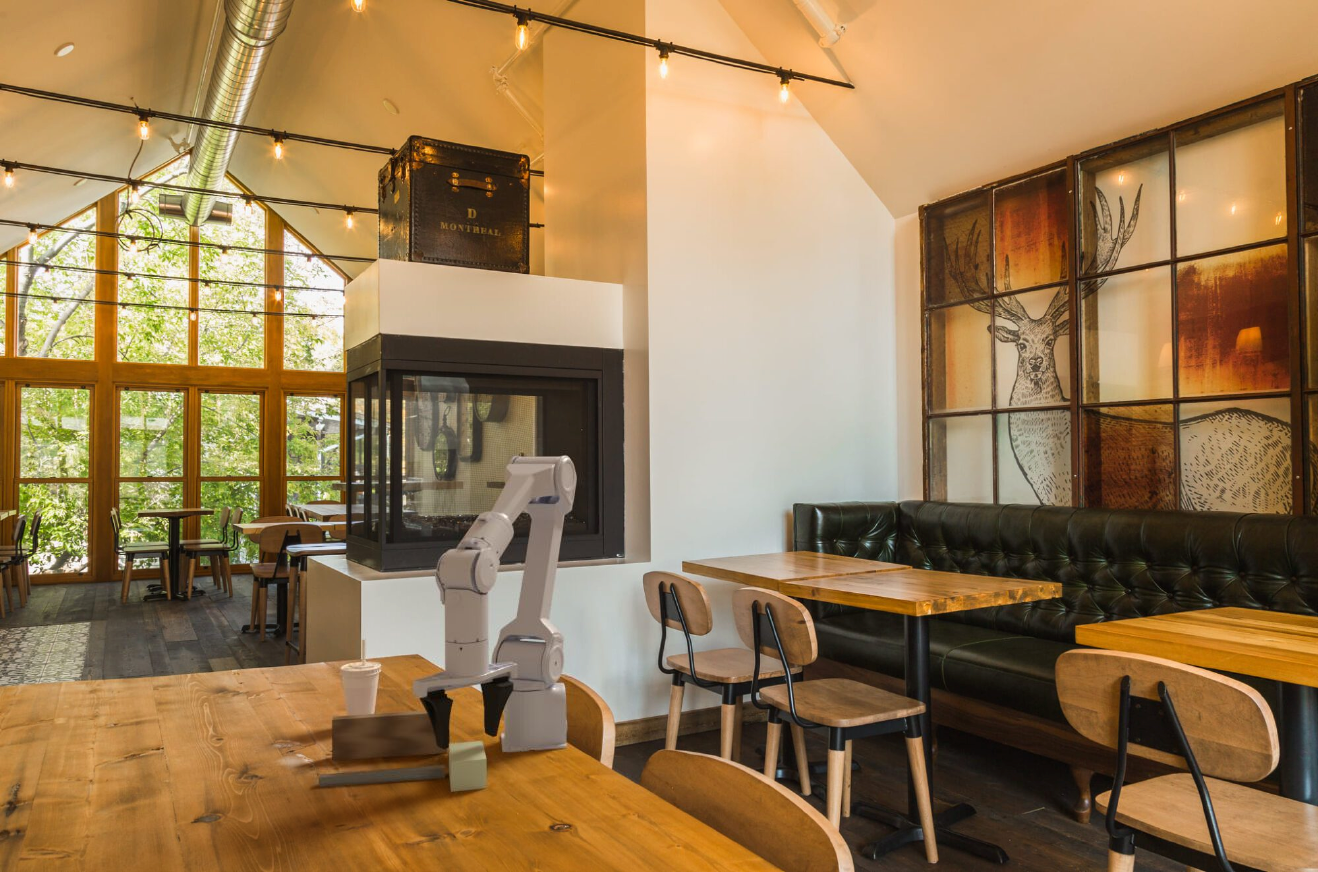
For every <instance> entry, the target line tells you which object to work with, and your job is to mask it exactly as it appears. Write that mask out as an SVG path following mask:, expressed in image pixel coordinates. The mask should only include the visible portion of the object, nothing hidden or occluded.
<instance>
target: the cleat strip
mask: <svg viewBox="0 0 1318 872" xmlns="http://www.w3.org/2000/svg"><path fill="white" fill-rule="evenodd" d="M445 771H446V764H437V765H422V766H413V767H412V766H411V767H398V768H397V767H396V768H385V769H374V770H373V769H372V770H370V769H369V770H360V771H346V772H337V773H336V772H333V773H323V774H319V777H318V788H323V787H324V788H325V787H326V788H327V787H337V786H338V787H341V786H354V785H356V786H357V785H369V784H385V783H397V782H409V781H411V782H412V781H423V780H424V781H425V780H426V781H427V780H439V779H445V778H446V772H445Z"/></svg>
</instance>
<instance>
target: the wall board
mask: <svg viewBox="0 0 1318 872" xmlns="http://www.w3.org/2000/svg"><path fill="white" fill-rule="evenodd" d="M447 753H448V748H447V749H442V748H440V747H438V746H437V743H436V738H435V734H434V730H433V727H432V724H431V721H430V718H429V716H428V714H427V712H426V710H425V709H424V710H413V711H412V710H411V711H410V710H409V711H399V712H398V711H397V712H383V713H374V714H364V715H349V716H347V715H337V716H333V717H332V719H331V761H342V760H344V761H345V760H357V759H358V760H360V759H369V758H370V759H372V758H387V757H388V758H389V757H403V756H405V757H406V756H419V755H431V754H432V755H434V754H436V755H437V754H447Z"/></svg>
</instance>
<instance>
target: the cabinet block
mask: <svg viewBox="0 0 1318 872" xmlns="http://www.w3.org/2000/svg"><path fill="white" fill-rule="evenodd" d="M484 747H485V746H484V743H483V740H476V741H475V740H474V741H464V742H451V743H449V748H448V777H449V785H450V792H451V793H452V792H453V793H454V792H459V791H460V792H461V791H462V792H463V791H472V790H482V789H487V788H488V787H487V783H488V782H487V779H488V778H487V777H488V776H487V755H486V751H485V748H484Z"/></svg>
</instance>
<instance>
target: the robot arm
mask: <svg viewBox="0 0 1318 872" xmlns="http://www.w3.org/2000/svg"><path fill="white" fill-rule="evenodd" d="M577 479H578V478H577V472H576V468H575V465H574V462H573V461H572V459H571V458H570V457H569V456H568V455H560V456H521V455H514V456H513V457H512V458H510V460H509V461H508V463H507V466H506V467H505V469H504V484H505V485H504V486H503V488H502V490H501V492H500V494H499V495H498V498H497V499H496V501H495V503H494V505H493V507H492V509H491V511H485V512H482V513H480V514H479V515H478V516H477V518H476V519H475V520H474V522H473V524H471V526H470V527H469V529H468V531H467V532H466V533H465V535H464V536H463V537H462V539H461V540H460V542H459V543H458V545H457V546H456V548H451V549H448V550H447V551H446V552H444V553H443V554H442V555H441V556H440V557H439V560H438V561H437V565H436V571H435V572H434V577H435V583H436V585H437V587H438V589H439V594H440V598H439V599H440V602H441V604H442V605H443V606H444V670H443V671H439V672H437V673H434V674H430V675H429V676H425V677H422V678H417V679H414V680H413V681H412V682H413V683H412V689H413V690H412V693H413V696H415V697H418V698H419V701H420V703H422V706H423V708H424V711H425V710H426V712H427V714H428V716H429V718H430V721H431V724H432V727H433V730H434V734H435V738H436V743H437V746H438V747H440V748H442V749H447V750H448V749H449V744H450V740H451V739H450V736H451V734H450V723H451V721H450V720H451V712H452V707H453V704H454V700H453V699H452V698H450V697H448V693H446V692H447V691H453V690H458V689H461V688H462V689H463V688H468V687H472V686H476V685H480V689H481V695H482V700H483V722H484V723H483V728H484V733H485V734H486V735H487V736H489V737H492V738H494V737H497V735H498V731H499V727H500V724H501V723H500V722H501V719H502V716H504V717H503V719H504V720H503V722H504V723H503V725H504V726H503V727H504V729H503V731H504V732H502V733H501V734H500V740H501V749H502V750H501V751H502V753H504V752H505V754H507V753H517V752H518V753H521V752H530V751H529V750H535V751H546V750H557V749H558V750H559V749H566V748H567V747H568V745H567V744H568V743H567V732H568V721H567V691H566V686H565V683H564V682H558V681H559V679H560V678H561V676H562V673H563V670H564V663H565V656H564V636H563V634H562V633H561V632H560V631H559V629H557V628H556V627H555V626H554V624H553V623H552V622H551V621H550V616H551V609H552V605H553V604H552V602H553V596H554V591H555V590H554V589H555V581H556V575H557V567H558V561H559V555H560V548H561V541H562V535H563V527H564V520H565V515H567V514H568V513H571V511H572V510H573V505H574V500H575V494H576V493H575V492H576V487H577ZM522 512H525V513H526V514H528V515H529V516H530V519H531V523H530V530H529V537H528V542H527V549H526V555H525V562H524V566H523V567H524V568H523V574H522V578H521V579H522V581H521V587H520V592H519V598H518V605H517V611H516V617H515V618H514V619H512V620H511V621H510V622H508V623H507V624H505V625H504V626H503V627H502V628H500V630H499V635H498V639H497V642H496V645H495V647H494V649H493V651H492V655H491V663H489V659H490V658H489V650H490V649H489V592H490V591H491V590H492V589H493V587H495V583H496V580H497V575H498V570H499V568H500V564H501V562H500V558H501V557H502V555H503V553H504V552H505V551H506V549H507V547H508V546H509V544H510V542H511V541H512V539H513V538H514V534H515V532H514V526H513V524H514V522H515V521H516V520H517V518H518V517H519V516H520V515H521V513H522ZM534 640H535V641H534ZM503 713H504V714H503ZM520 751H521V752H520ZM506 752H507V753H506Z"/></svg>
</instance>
